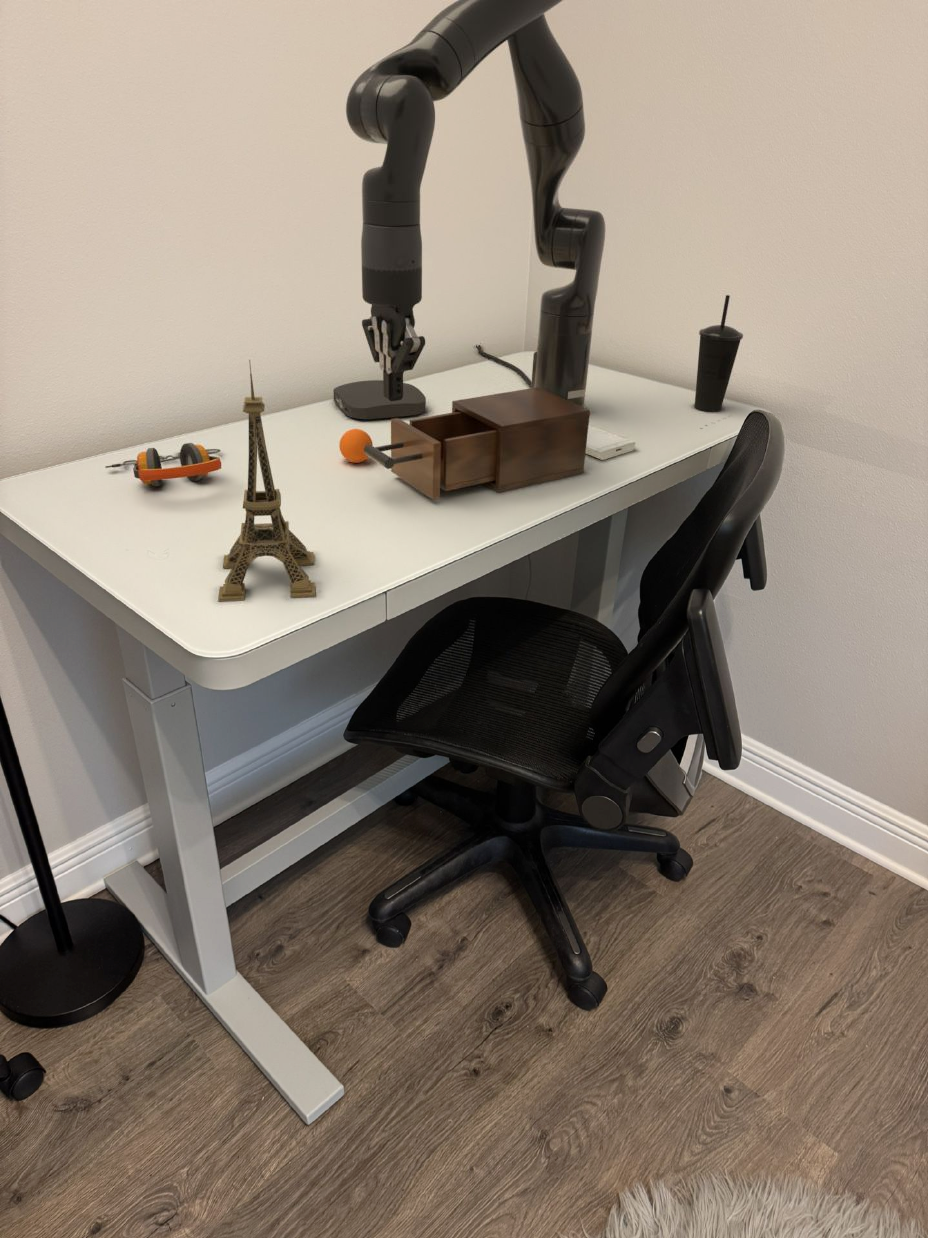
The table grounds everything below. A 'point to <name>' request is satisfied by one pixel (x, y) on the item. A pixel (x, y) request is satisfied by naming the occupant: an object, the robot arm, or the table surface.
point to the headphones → (192, 466)
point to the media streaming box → (377, 400)
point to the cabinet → (531, 435)
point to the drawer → (440, 452)
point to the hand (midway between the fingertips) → (393, 398)
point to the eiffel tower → (269, 535)
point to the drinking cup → (715, 363)
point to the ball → (354, 445)
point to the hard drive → (606, 444)
